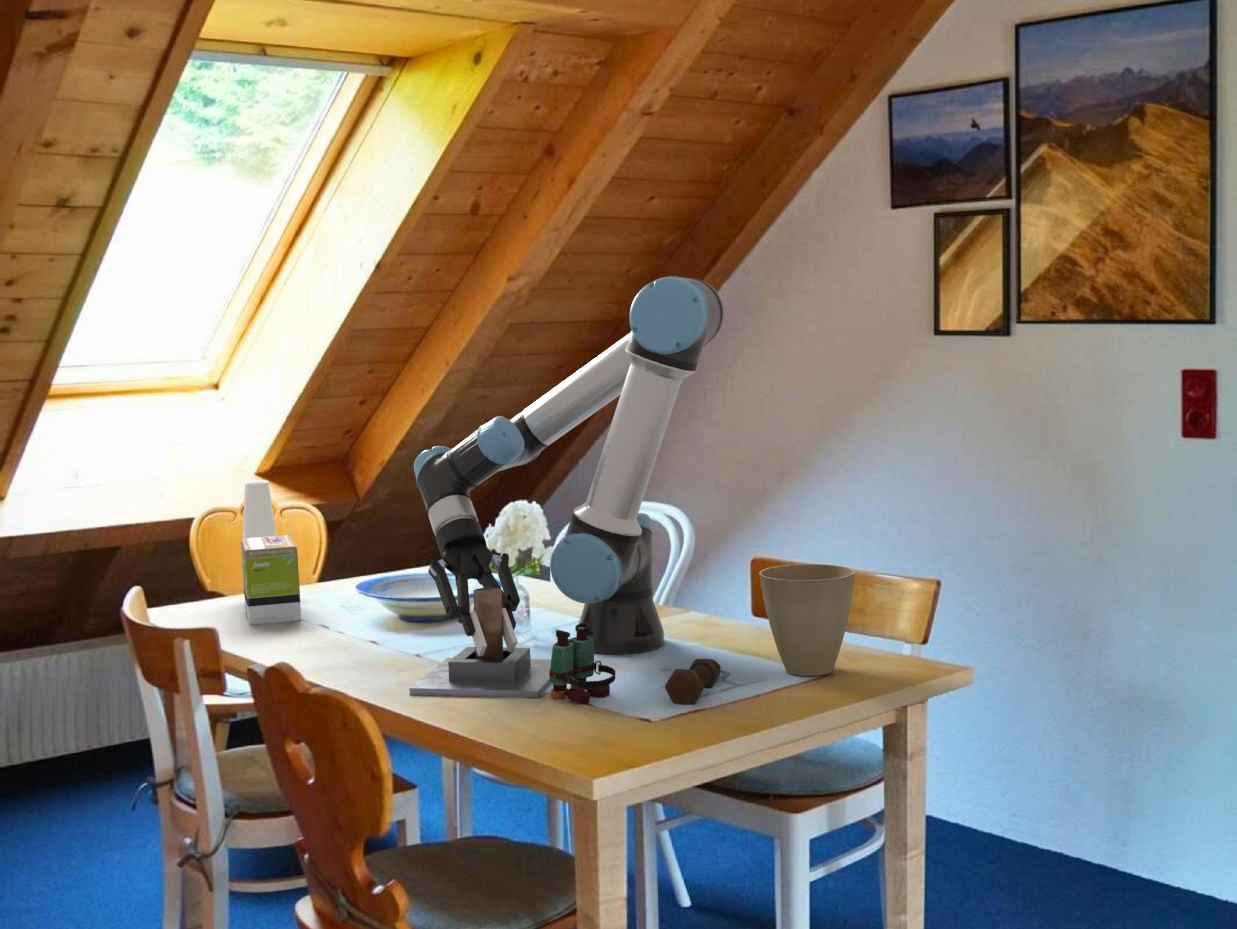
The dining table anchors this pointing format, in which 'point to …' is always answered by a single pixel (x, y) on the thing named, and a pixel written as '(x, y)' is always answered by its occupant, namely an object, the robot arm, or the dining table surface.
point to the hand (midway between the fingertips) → (498, 648)
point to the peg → (490, 621)
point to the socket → (487, 676)
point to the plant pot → (808, 614)
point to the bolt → (692, 681)
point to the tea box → (271, 579)
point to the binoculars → (577, 668)
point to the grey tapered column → (258, 510)
